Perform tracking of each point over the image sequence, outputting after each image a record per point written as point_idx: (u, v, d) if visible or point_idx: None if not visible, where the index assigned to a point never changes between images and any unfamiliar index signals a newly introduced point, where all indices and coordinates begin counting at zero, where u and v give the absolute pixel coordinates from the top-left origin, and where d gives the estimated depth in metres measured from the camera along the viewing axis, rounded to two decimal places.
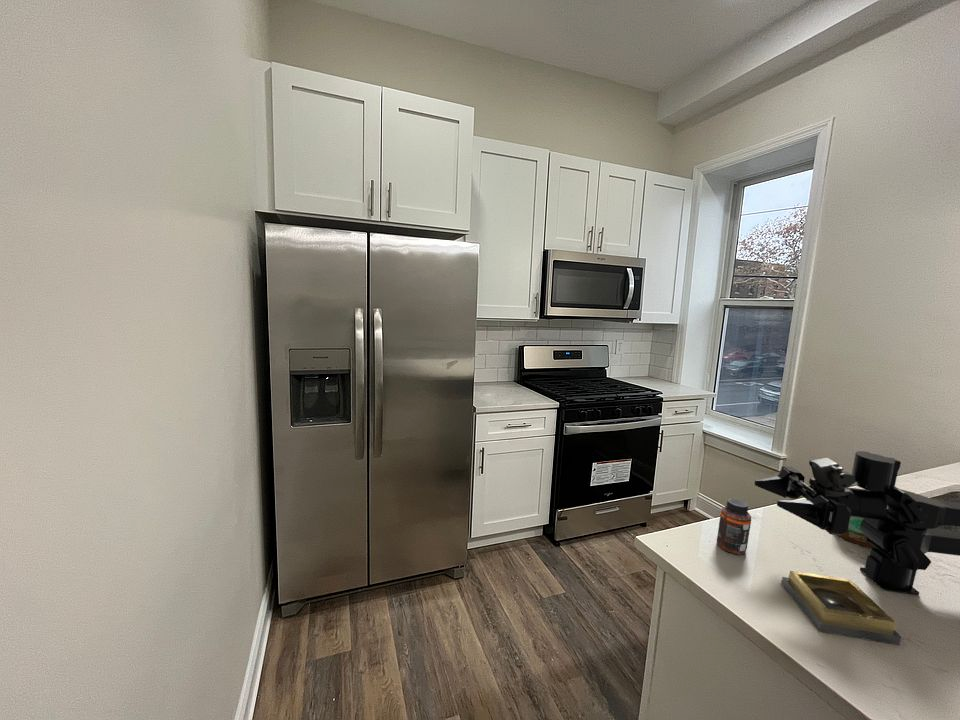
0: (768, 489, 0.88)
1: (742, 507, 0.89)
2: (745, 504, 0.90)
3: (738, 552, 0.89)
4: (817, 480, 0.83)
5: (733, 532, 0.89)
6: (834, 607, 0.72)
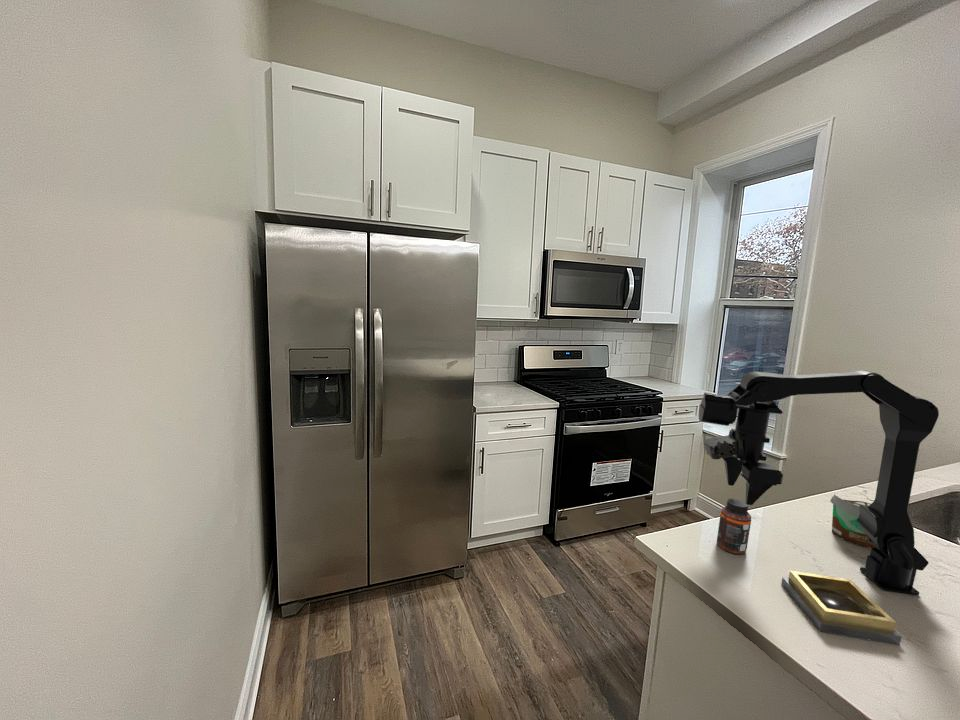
0: (738, 474, 0.94)
1: (742, 506, 0.89)
2: (745, 504, 0.90)
3: (738, 552, 0.89)
4: None
5: (733, 532, 0.89)
6: (834, 607, 0.72)
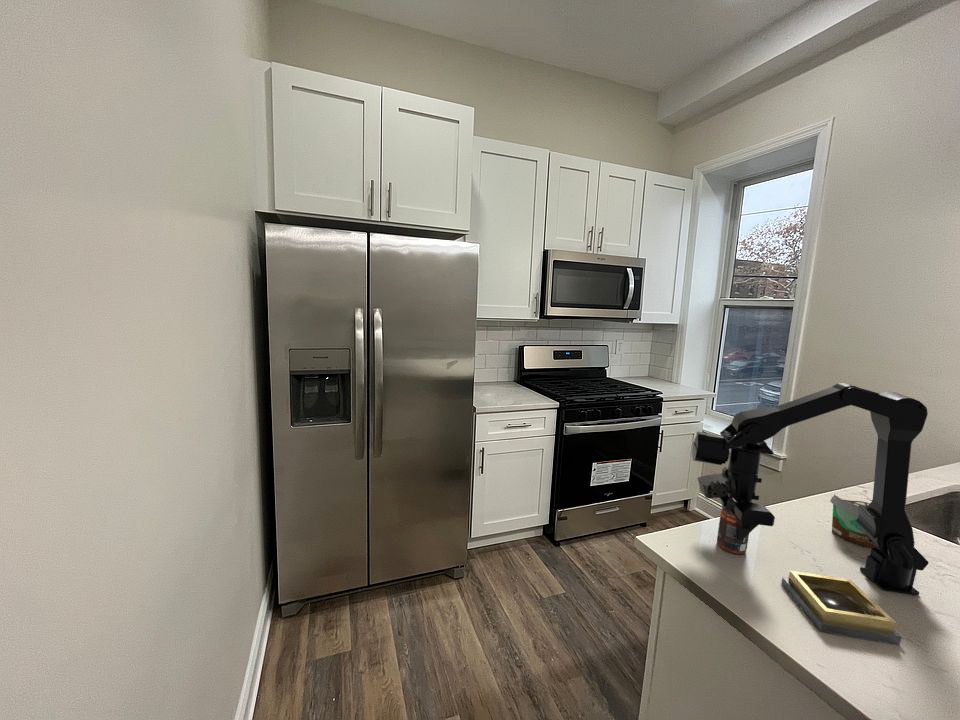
0: None
1: None
2: None
3: (738, 552, 0.89)
4: None
5: (733, 532, 0.89)
6: (834, 607, 0.72)
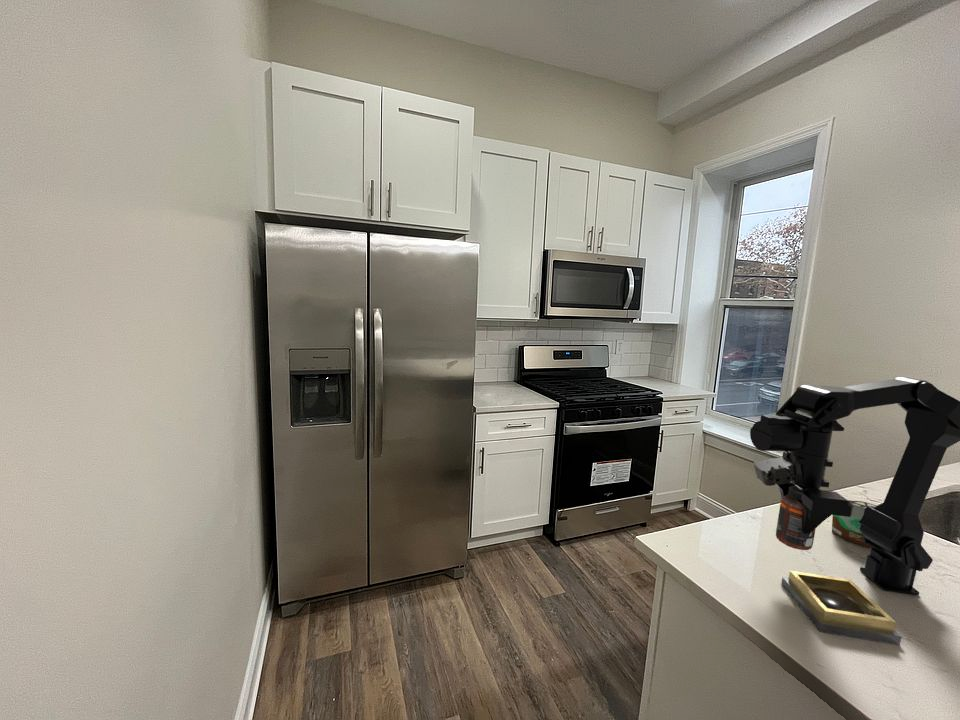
0: None
1: None
2: None
3: (803, 548, 0.77)
4: None
5: (797, 525, 0.77)
6: (834, 607, 0.72)
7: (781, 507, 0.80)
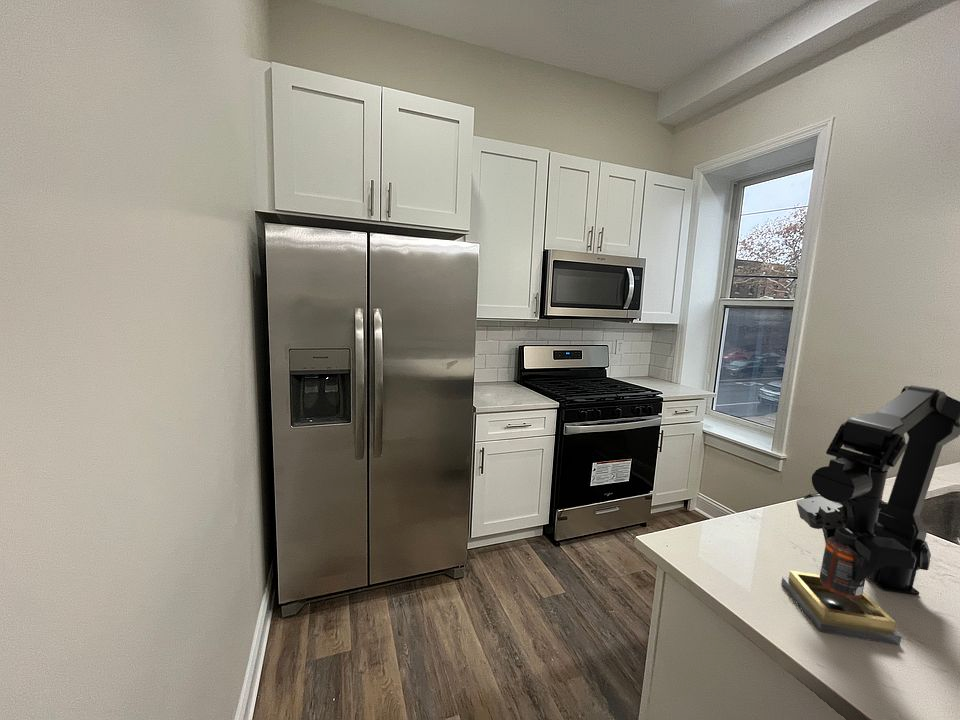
0: None
1: None
2: None
3: (853, 597, 0.70)
4: None
5: (846, 572, 0.70)
6: (834, 607, 0.72)
7: (827, 550, 0.73)
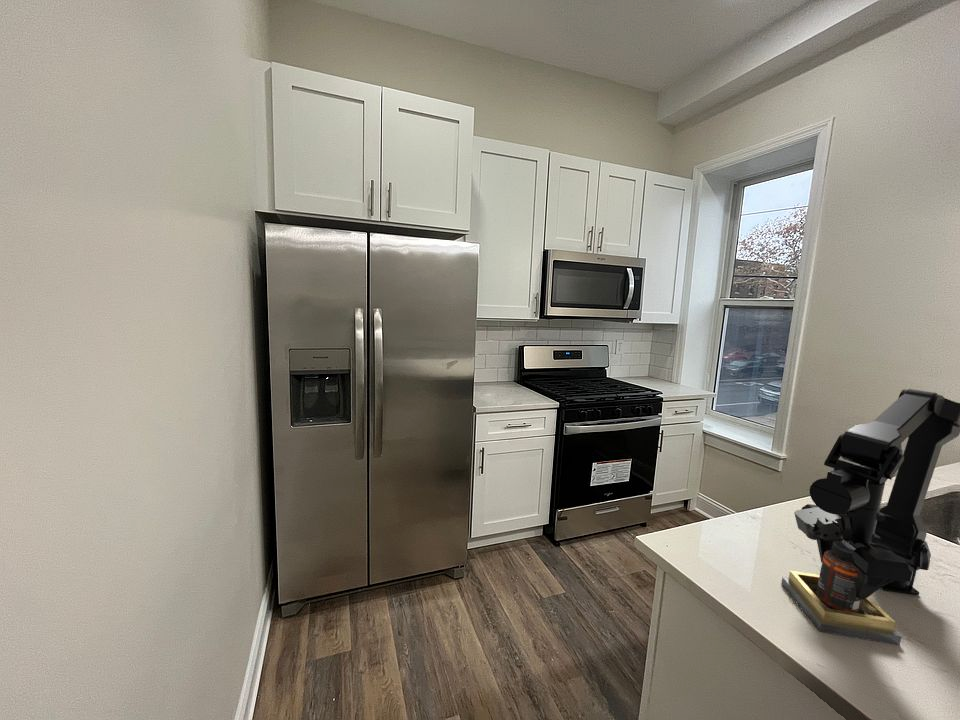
0: None
1: None
2: None
3: (850, 611, 0.71)
4: None
5: (843, 586, 0.70)
6: None
7: (824, 564, 0.73)
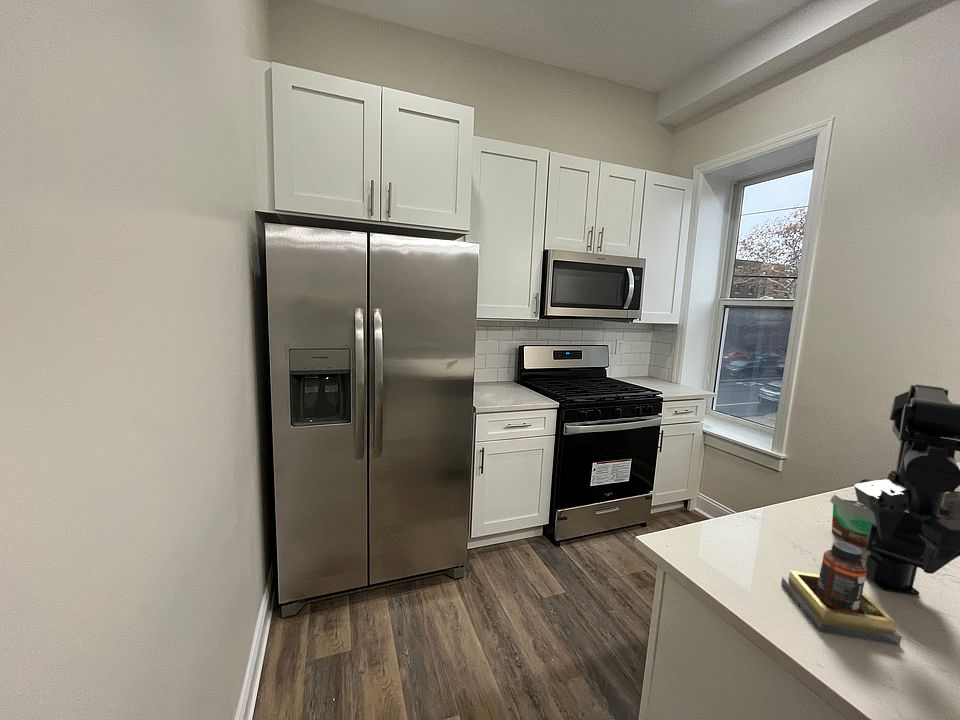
0: (894, 527, 0.74)
1: (857, 554, 0.70)
2: (858, 550, 0.71)
3: (850, 611, 0.71)
4: None
5: (843, 586, 0.70)
6: None
7: (824, 564, 0.73)
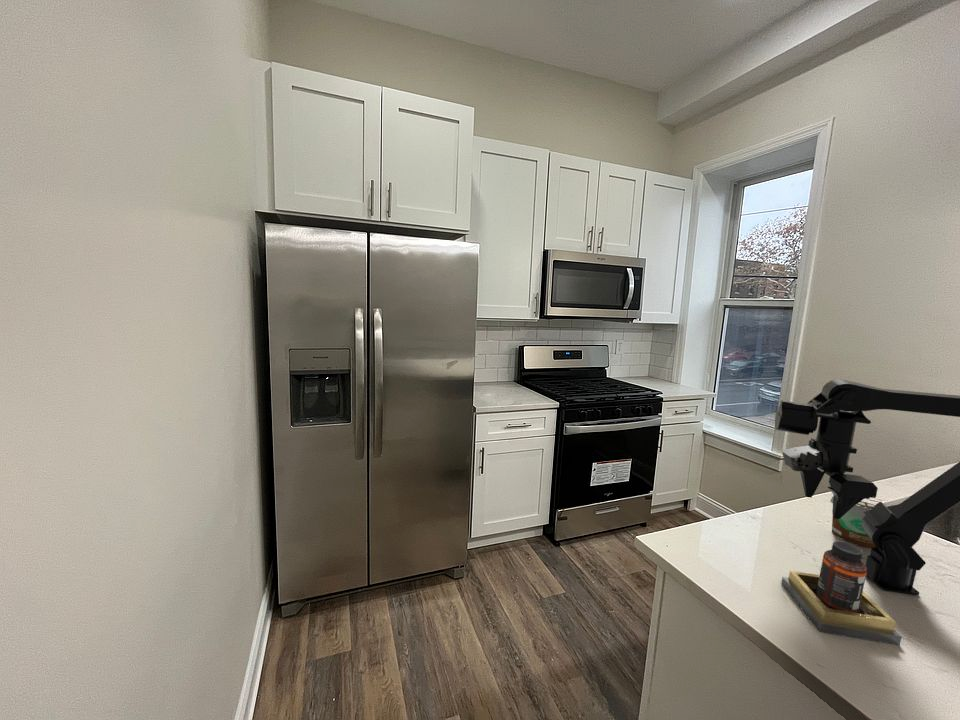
0: (816, 485, 0.90)
1: (857, 554, 0.70)
2: (858, 550, 0.71)
3: (850, 611, 0.71)
4: None
5: (843, 586, 0.70)
6: None
7: (824, 564, 0.73)
